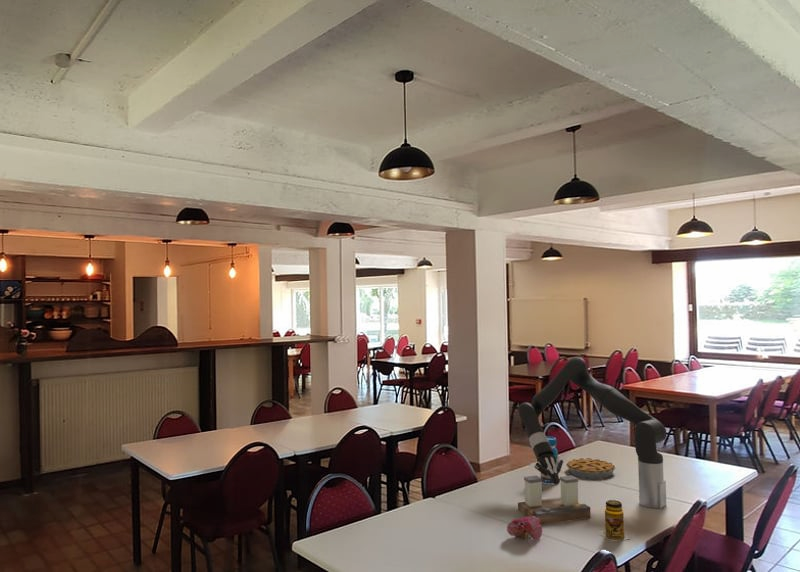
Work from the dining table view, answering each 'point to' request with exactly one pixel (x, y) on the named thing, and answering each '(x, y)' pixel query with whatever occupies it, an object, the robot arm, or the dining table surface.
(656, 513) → the dining table surface
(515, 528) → the flower
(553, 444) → the beverage bottle
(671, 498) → the dining table surface
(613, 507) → the condiment
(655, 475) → the robot arm
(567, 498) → the marked plunger
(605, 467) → the pie
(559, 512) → the button board
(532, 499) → the plunger
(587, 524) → the dining table surface
